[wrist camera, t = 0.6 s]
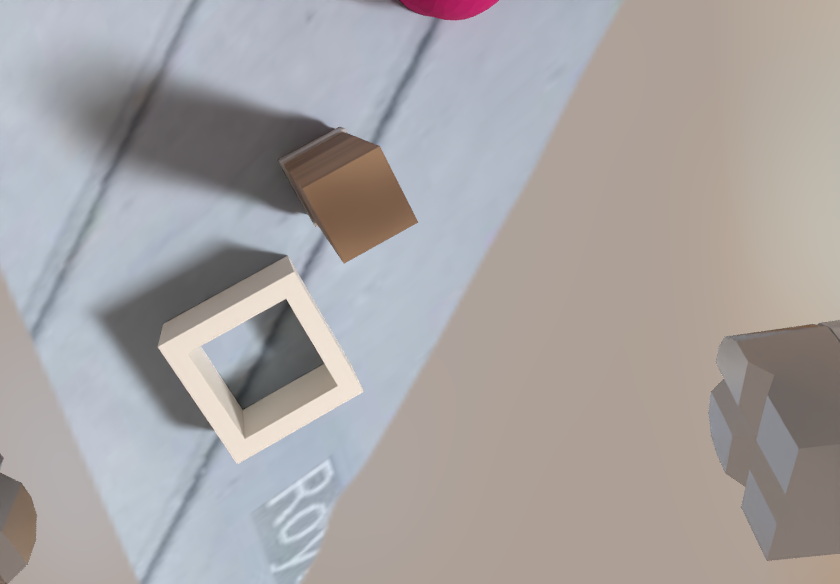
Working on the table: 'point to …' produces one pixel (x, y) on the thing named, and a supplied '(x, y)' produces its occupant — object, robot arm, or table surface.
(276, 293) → the socket block
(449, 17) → the pepper mill
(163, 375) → the table surface
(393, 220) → the rail
